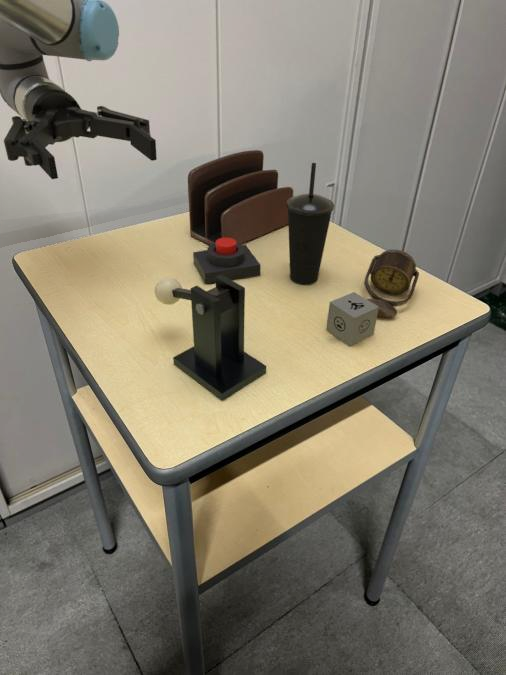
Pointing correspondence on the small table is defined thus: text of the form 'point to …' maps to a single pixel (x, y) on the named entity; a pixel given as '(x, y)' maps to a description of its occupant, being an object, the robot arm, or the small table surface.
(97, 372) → the small table surface
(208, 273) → the button box
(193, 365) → the bracket
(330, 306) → the dice cube
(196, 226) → the letter holder
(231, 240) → the red button
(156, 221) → the small table surface
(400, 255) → the brown antique clock
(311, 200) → the drinking cup
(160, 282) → the lever
